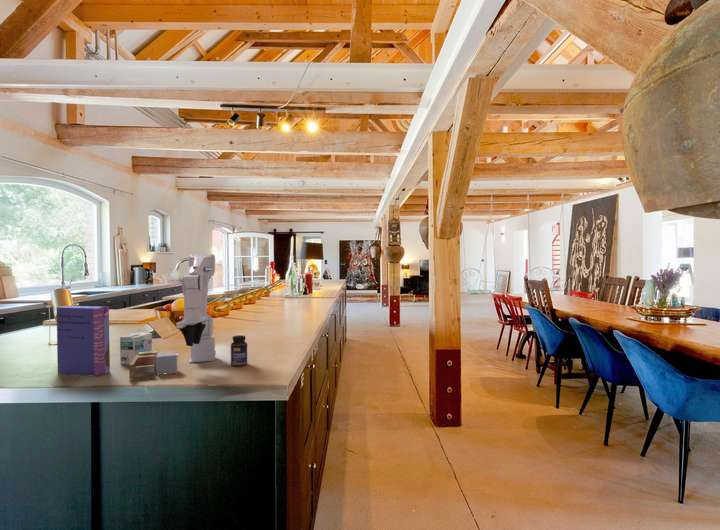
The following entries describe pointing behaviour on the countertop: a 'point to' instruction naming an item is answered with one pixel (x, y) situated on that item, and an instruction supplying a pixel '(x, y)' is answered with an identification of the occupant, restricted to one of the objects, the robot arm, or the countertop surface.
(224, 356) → the countertop surface
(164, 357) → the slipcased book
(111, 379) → the countertop surface
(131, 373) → the shelf
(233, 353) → the pill bottle
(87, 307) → the cereal box
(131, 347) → the light bulb box
